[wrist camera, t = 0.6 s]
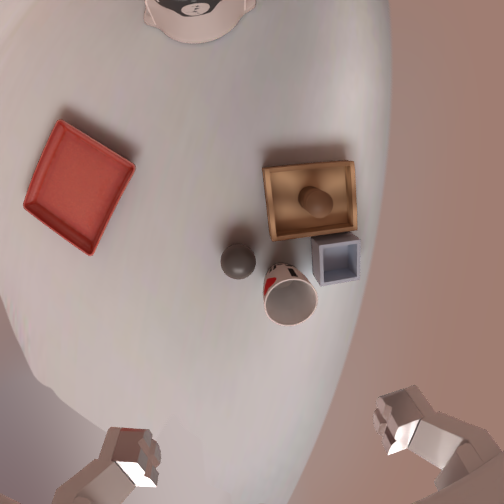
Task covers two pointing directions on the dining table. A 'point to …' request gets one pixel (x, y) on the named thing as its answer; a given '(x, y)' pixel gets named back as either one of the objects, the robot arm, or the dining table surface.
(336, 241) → the pen pot
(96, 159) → the plant saucer
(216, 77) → the dining table surface
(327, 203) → the walnut peg
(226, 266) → the dark gray ball
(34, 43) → the dining table surface
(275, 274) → the cup
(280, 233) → the oak tray
